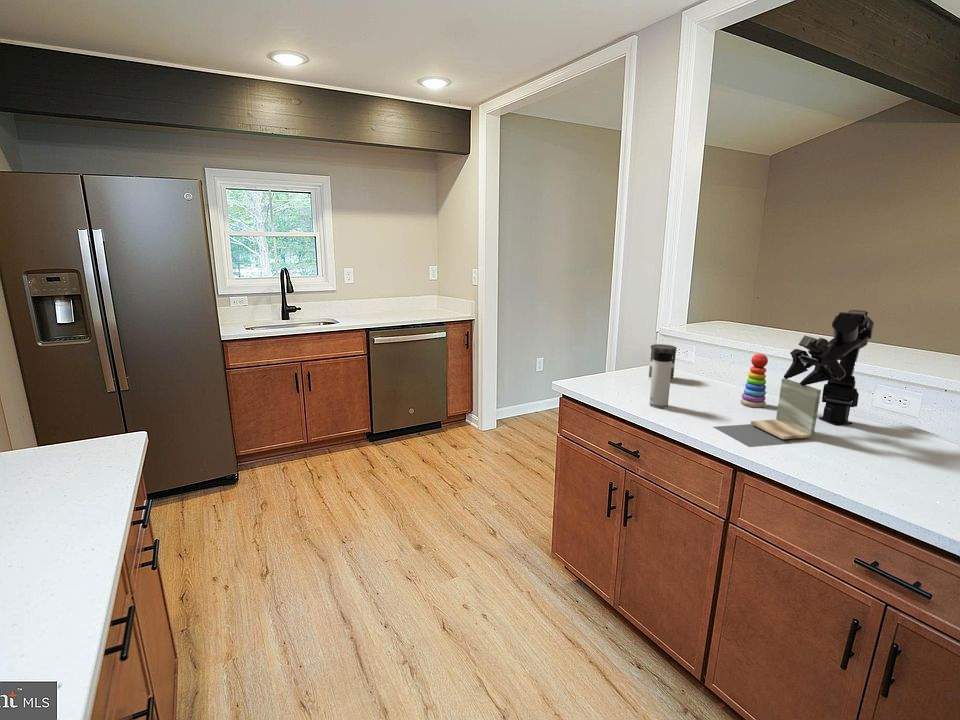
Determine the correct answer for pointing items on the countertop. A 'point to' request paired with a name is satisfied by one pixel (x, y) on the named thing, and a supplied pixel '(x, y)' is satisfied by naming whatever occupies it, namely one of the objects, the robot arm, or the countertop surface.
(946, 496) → the countertop surface
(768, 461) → the countertop surface
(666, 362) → the travel mug
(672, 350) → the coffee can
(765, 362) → the stacking toy
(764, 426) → the wooden bookend
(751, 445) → the mat
